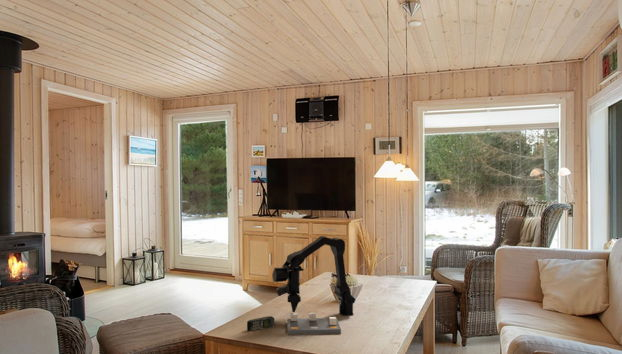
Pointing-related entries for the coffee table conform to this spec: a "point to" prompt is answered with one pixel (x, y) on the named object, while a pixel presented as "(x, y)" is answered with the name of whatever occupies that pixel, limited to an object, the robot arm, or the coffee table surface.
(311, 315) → the tab middle
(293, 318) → the tab
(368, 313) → the coffee table surface
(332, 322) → the tab
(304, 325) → the switch plate
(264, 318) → the mobile phone
